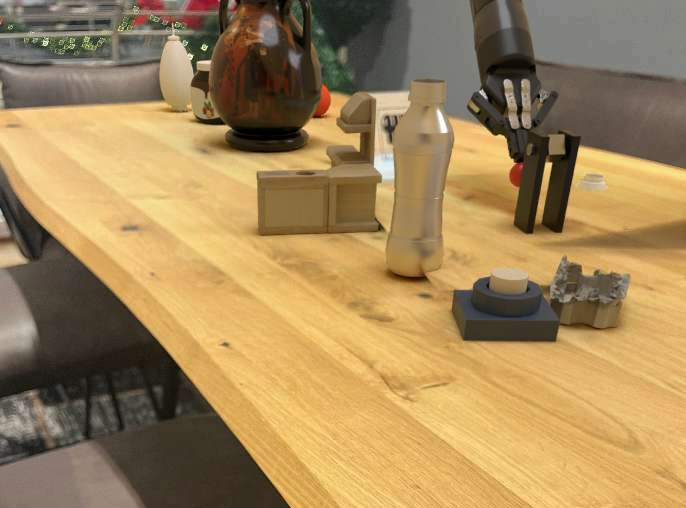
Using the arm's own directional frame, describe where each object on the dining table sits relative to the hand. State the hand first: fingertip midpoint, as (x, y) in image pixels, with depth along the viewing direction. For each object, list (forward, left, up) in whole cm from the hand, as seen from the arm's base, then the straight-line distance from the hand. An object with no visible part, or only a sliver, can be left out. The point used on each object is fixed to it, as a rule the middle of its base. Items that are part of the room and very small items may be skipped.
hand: (522, 159), depth 103 cm
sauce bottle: (+61, -91, -8) cm, 110 cm away
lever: (-1, +5, -1) cm, 5 cm away
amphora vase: (+38, -52, -8) cm, 65 cm away
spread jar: (+49, -78, -8) cm, 92 cm away
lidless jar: (-15, -15, -8) cm, 23 cm away
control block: (+9, +38, -8) cm, 40 cm away
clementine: (+28, -86, -8) cm, 91 cm away
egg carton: (-1, +34, -8) cm, 35 cm away
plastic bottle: (+17, +23, -8) cm, 29 cm away
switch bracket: (-1, +8, -8) cm, 11 cm away
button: (+9, +38, -5) cm, 39 cm away
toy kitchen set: (+28, -2, -8) cm, 30 cm away
